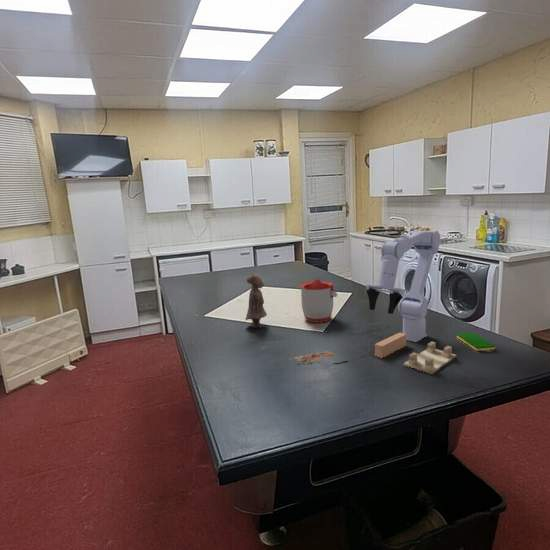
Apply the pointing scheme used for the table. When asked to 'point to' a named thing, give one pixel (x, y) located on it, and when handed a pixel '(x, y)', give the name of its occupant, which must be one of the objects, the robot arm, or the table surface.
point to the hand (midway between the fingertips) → (380, 311)
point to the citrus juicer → (317, 300)
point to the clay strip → (390, 345)
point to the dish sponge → (475, 341)
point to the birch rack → (430, 358)
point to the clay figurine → (255, 301)
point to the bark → (314, 356)
